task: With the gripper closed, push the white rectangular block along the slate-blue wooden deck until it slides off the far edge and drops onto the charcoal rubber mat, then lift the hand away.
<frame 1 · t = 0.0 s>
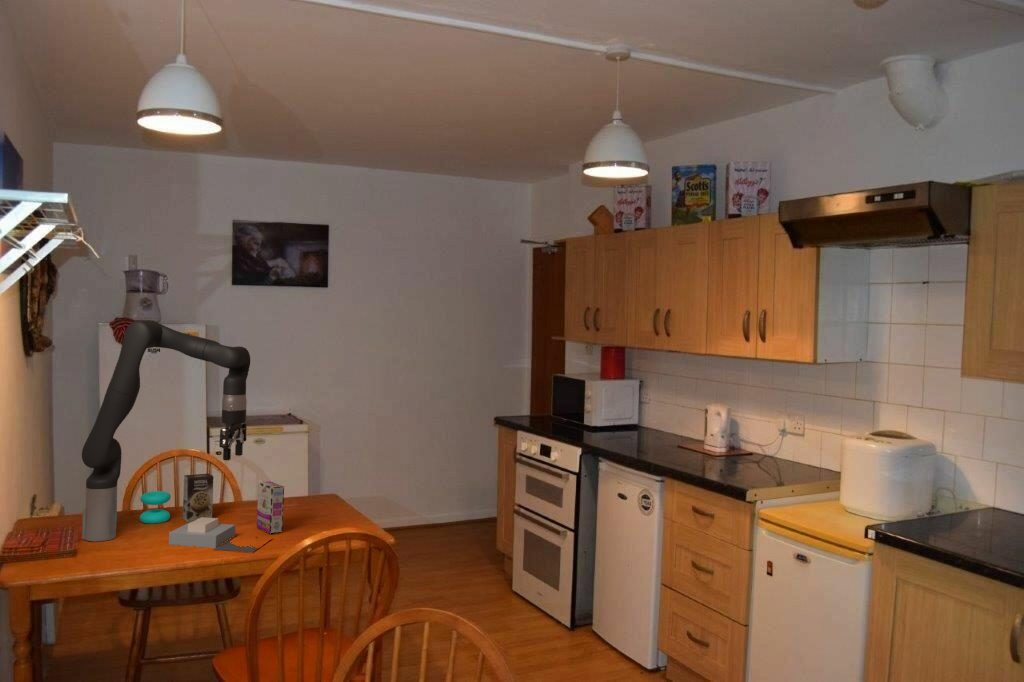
hand: (232, 457, 257), 29 cm above the table, tool pointing down, fingers open, 8 cm apart
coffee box: (197, 519, 291), on the table
donuts: (154, 521, 286), on the table
candy bar box: (269, 530, 279), on the table
white rectangular block: (203, 524, 264), point 5 cm above the table, touching deck
deck: (202, 540, 264), on the table
mat: (244, 544, 262), on the table
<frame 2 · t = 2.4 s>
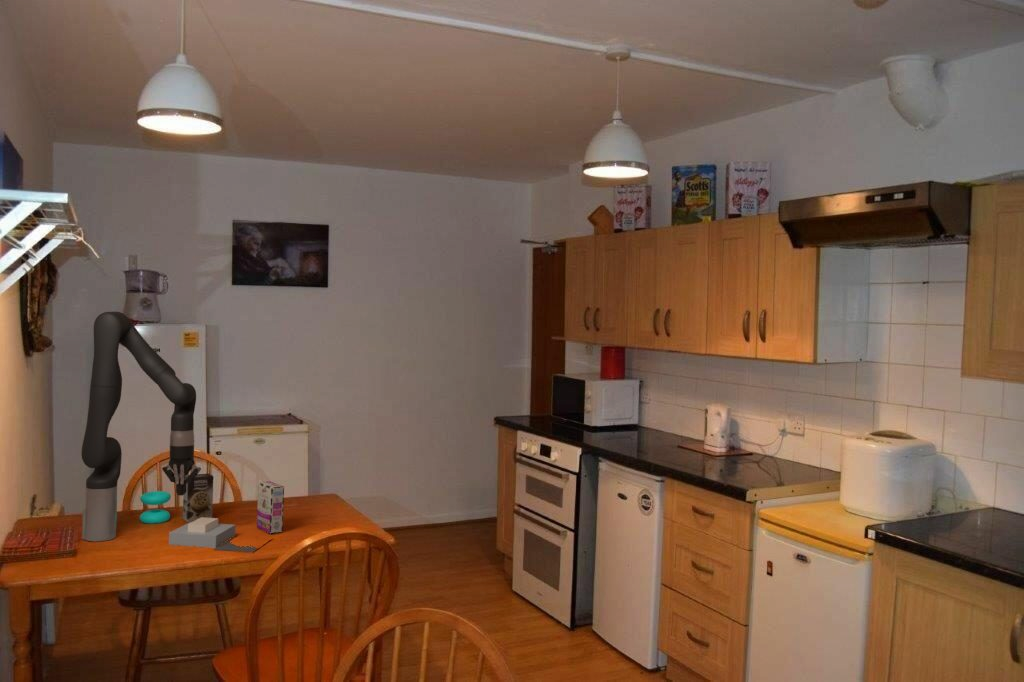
hand: (181, 494, 264), 15 cm above the table, tool pointing down, fingers closed
nothing on the table moved.
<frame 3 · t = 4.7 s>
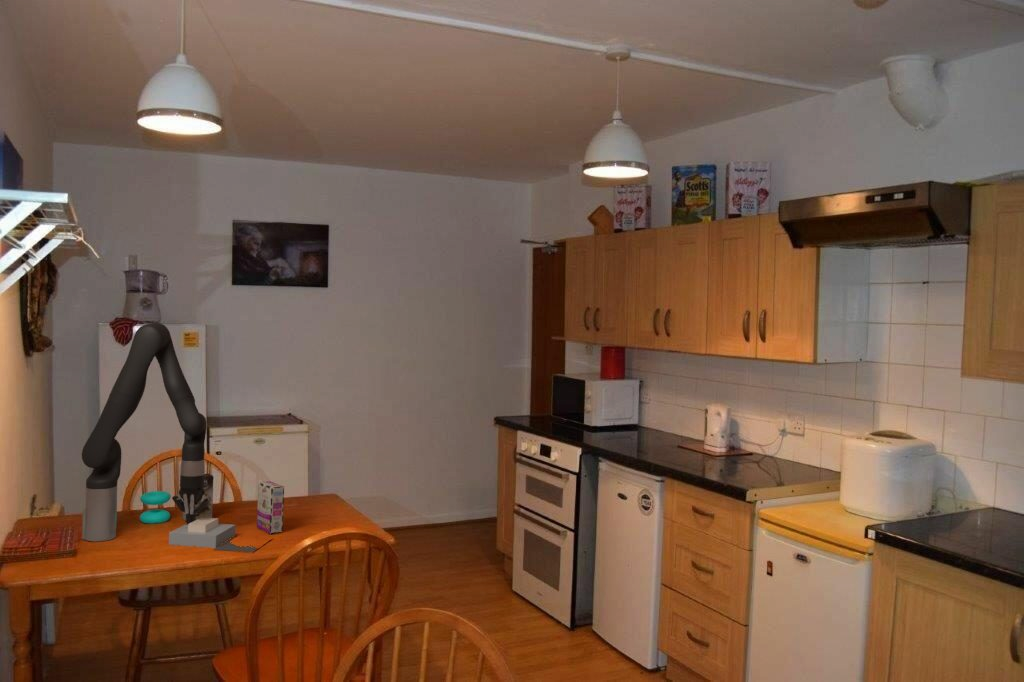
hand: (190, 524, 265), 5 cm above the table, tool pointing down, fingers closed
white rectangular block: (203, 524, 264), point 5 cm above the table, touching deck, gripper
everything else where it was.
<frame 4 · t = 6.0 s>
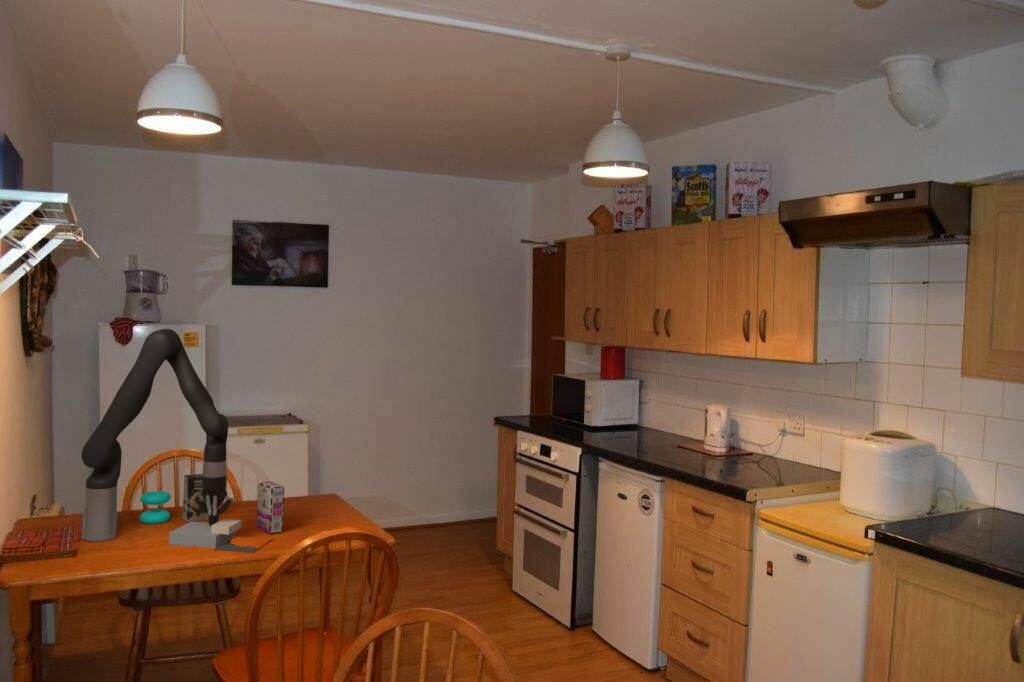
hand: (213, 525, 264), 5 cm above the table, tool pointing down, fingers closed
white rectangular block: (226, 526, 263), point 5 cm above the table, touching gripper
everything else where it was.
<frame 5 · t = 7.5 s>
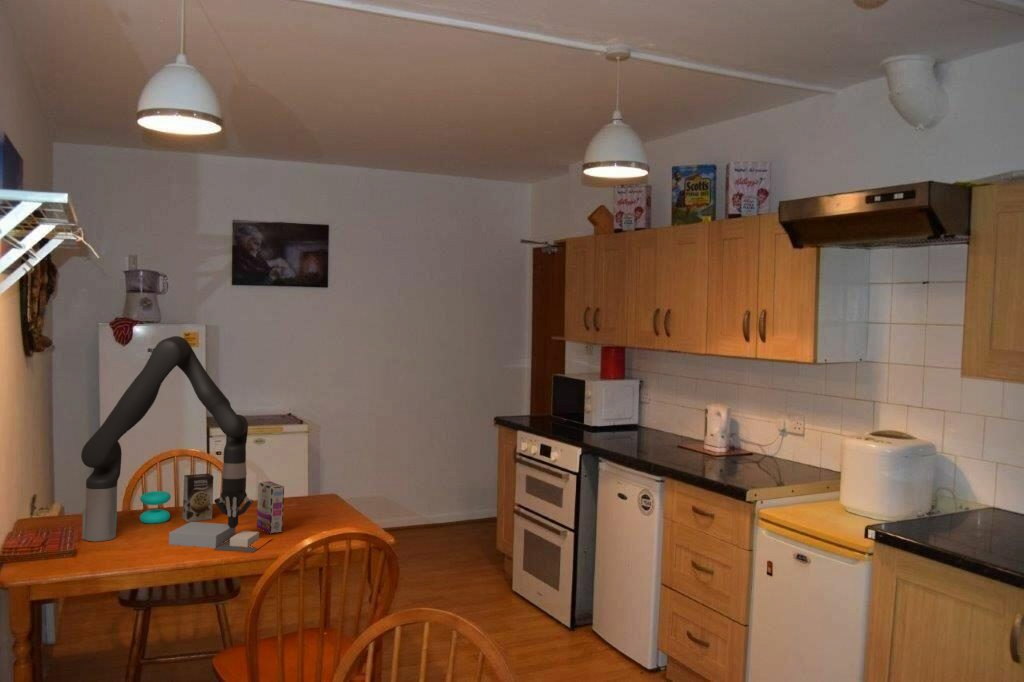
hand: (233, 527, 263), 5 cm above the table, tool pointing down, fingers closed
white rectangular block: (244, 538, 263), point 2 cm above the table, tilted 180°, touching mat
everything else where it was.
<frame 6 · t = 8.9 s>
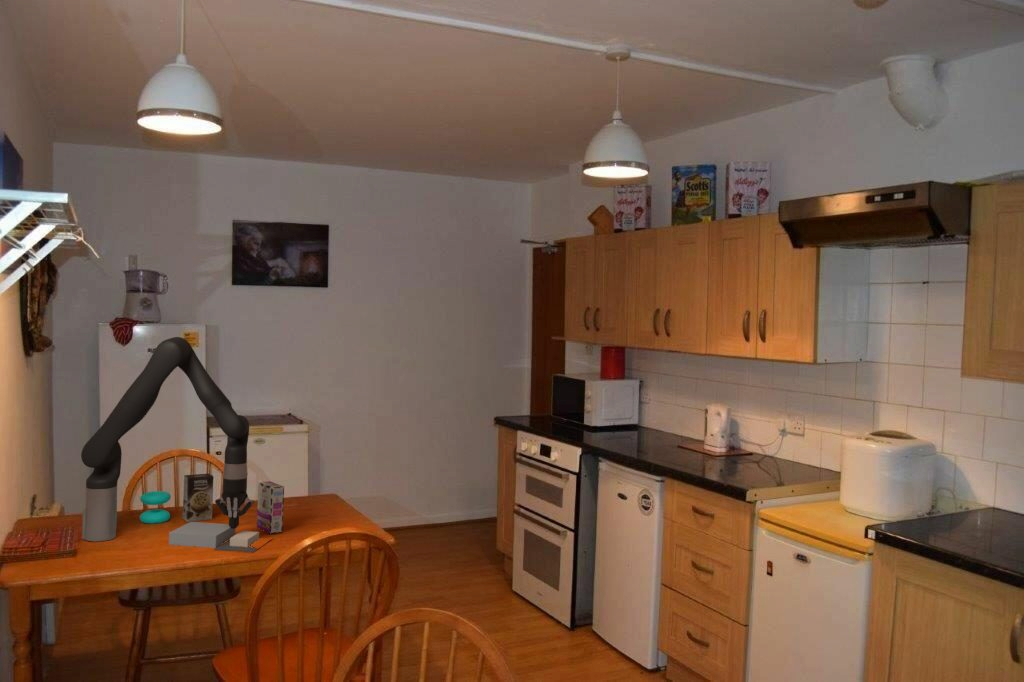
hand: (233, 527, 263), 5 cm above the table, tool pointing down, fingers closed
nothing on the table moved.
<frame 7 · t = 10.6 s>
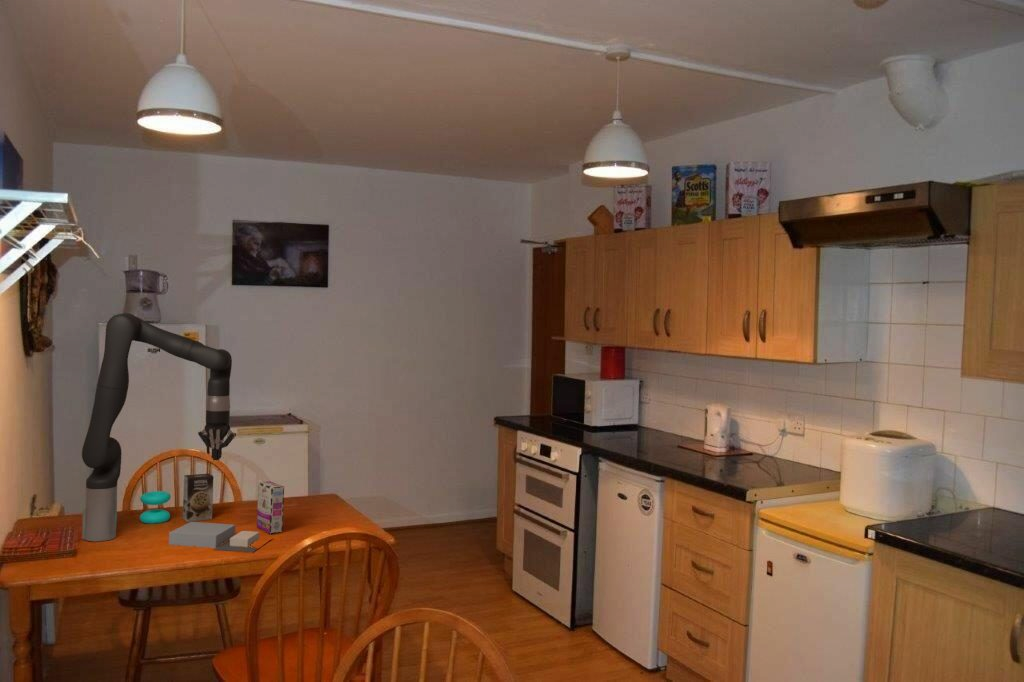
hand: (216, 459, 267), 27 cm above the table, tool pointing down, fingers closed
nothing on the table moved.
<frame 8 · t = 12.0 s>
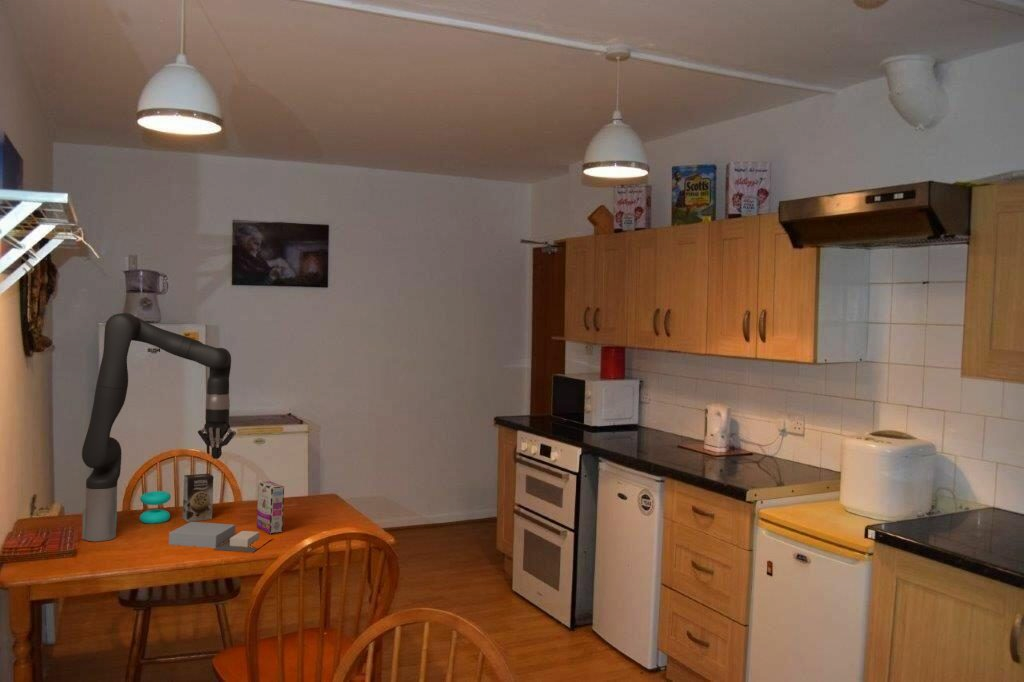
hand: (216, 458, 267), 27 cm above the table, tool pointing down, fingers closed
nothing on the table moved.
at the end: white rectangular block point 1.5 cm above the table; white rectangular block inside the target area on the mat (1.1 cm from its centre), point 1.5 cm above the mat's base; white rectangular block touching mat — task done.
